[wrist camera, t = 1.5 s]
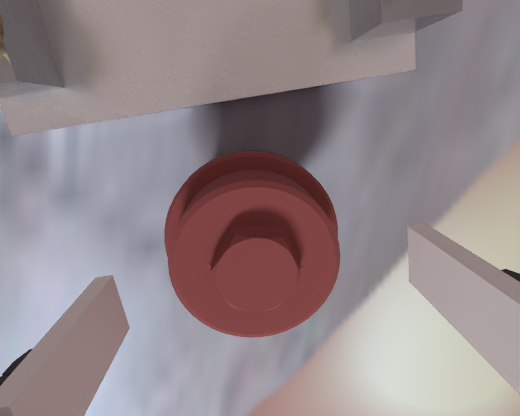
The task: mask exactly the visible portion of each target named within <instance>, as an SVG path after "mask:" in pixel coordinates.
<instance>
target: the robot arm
mask: <svg viewBox="0 0 520 416" xmlns="http://www.w3.org/2000/svg"><path fill="white" fill-rule="evenodd" d="M408 258H409V282H410V283H411V284H412V285H413V286H414V287H415V288H416V289H417V290H418V291H419V292H420V293H421V294H422V295H423V296H424V297H425V298H426V299H427V300H428V301H429V302H430V303H431V304H432V305H433V306H434V307H435V308H436V309H437V310H438V312H439V313H440V314H441V315H442V316H443V317H444V318H445V319H446V320H447V321H448V322H449V323H450V324H451V325H452V326H453V327H454V328H455V329H456V330H457V331H458V332H459V333H460V334H461V335H462V336H463V337H464V338H465V339H466V340H467V341H468V342H469V343H470V344H471V345H472V346H473V347H474V348H475V349H476V350H477V351H478V352H479V353H480V355H481V356H483V357H484V359H485V360H486V361H487V362H488V363H489V364H490V365H491V366H492V367H493V368H494V369H495V370H496V371H497V372H498V373H499V374H500V375H501V376H502V377H503V378H504V379H505V380H506V381H507V382H508V383H509V384H510V385H511V386H512V387H513V388H514V389H515V390H516V391H517V392H518V393H519V394H520V274H519V273H516V272H513V271H510V270H507V269H504V270H499V269H498V268H496V267H495V266H493V265H491V264H490V263H488V262H486V261H485V260H483V259H482V258H480V257H478V256H477V255H475V254H473V253H472V252H470V251H469V250H467V249H465V248H464V247H462V246H461V245H459V244H457V243H456V242H454V241H452V240H451V239H449V238H448V237H446V236H444V235H443V234H441V233H440V232H438V231H436V230H435V229H433V228H431V227H430V226H428V225H427V224H425V223H424V224H418V225H412V226H408ZM128 330H129V325H128V321H127V318H126V315H125V312H124V309H123V306H122V303H121V300H120V297H119V293H118V290H117V287H116V284H115V281H114V278H113V275H110V276H104V277H98V278H95V279H94V280H93V281H92V282H91V283H90V285H89V286H88V287H87V288H86V289H85V290H84V291H83V293H82V294H81V295H80V296H79V297H78V298H77V299H76V300H75V302H74V303H73V304H72V305H71V306H70V307H69V308H68V310H67V311H66V312H65V313H64V314H63V315H62V316H61V318H60V319H59V320H58V321H57V322H56V323H55V324H54V326H53V327H52V328H51V329H50V330H49V331H48V332H47V333H46V335H45V336H44V337H43V338H42V339H41V340H40V341H39V343H38V344H37V345H36V346H35V347H34V348H33V349H30V350H28V351H27V352H26V353H24V354H23V355H22V356H20V357H19V358H18V359H16V360H15V361H14V362H13V363H12V364H11V365H10V366H9V367H8V368H7V370H6V371H5V372H4V373H3V374H2V376H1V377H0V416H84V415H85V413H86V411H87V409H88V407H89V405H90V403H91V401H92V399H93V397H94V395H95V394H96V392H97V390H98V388H99V386H100V384H101V382H102V380H103V378H104V376H105V374H106V372H107V370H108V369H109V367H110V365H111V363H112V361H113V359H114V357H115V355H116V353H117V351H118V349H119V347H120V345H121V343H122V342H123V340H124V338H125V336H126V334H127V332H128Z"/></svg>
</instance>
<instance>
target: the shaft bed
mask: <svg viewBox="0 0 520 416" xmlns="http://www.w3.org/2000/svg"><path fill="white" fill-rule="evenodd" d="M460 11H462V0H0V104H1V107H2V110H3V112H4V115H5V118H6V121H7V123H8V126H9V129H10V131H11V134H12V135H21V134H27V133H34V132H40V131H46V130H52V129H58V128H64V127H71V126H77V125H83V124H89V123H95V122H101V121H107V120H114V119H120V118H126V117H132V116H138V115H144V114H150V113H157V112H163V111H169V110H175V109H181V108H187V107H193V106H200V105H206V104H212V103H218V102H224V101H230V100H237V99H243V98H249V97H255V96H261V95H267V94H273V93H280V92H286V91H292V90H298V89H304V88H310V87H316V86H323V85H329V84H335V83H341V82H347V81H353V80H360V79H366V78H372V77H378V76H384V75H390V74H396V73H403V72H409V71H413V70H416V69H415V31H417V30H420V29H422V28H424V27H426V26H429V25H431V24H433V23H435V22H437V21H440V20H442V19H444V18H446V17H449V16H451V15H453V14H455V13H457V12H460Z"/></svg>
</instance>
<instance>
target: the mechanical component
mask: <svg viewBox="0 0 520 416" xmlns="http://www.w3.org/2000/svg"><path fill="white" fill-rule="evenodd" d="M165 247H166V253H167V256H168V266H169V275H170V278H171V282H172V286H173V288H174V290H175V292H176V294H177V296H178V298H179V299H180V301H181V302H182V304H183V305H184V307H185V308H186V309H187V310H188V311H189V312H190V313H191V314H192V315H193V316H194V317H195V318H197V319H198V320H199V321H201V322H202V323H204V324H205V325H207V326H209V327H211V328H212V329H215V330H217V331H220V332H223V333H225V334H230V335H234V336H240V337H264V336H269V335H275V334H278V333H281V332H284V331H287V330H289V329H291V328H293V327H295V326H297V325H299V324H301V323H302V322H304V321H305V320H307V319H308V318H309V317H310V316H312V315H313V314H314V313H315V312H316V311H317V310H318V309H319V308H320V307H321V305H322V304H323V303H324V302H325V301H326V299H327V297H328V296H329V294H330V293H331V291H332V289H333V286H334V284H335V282H336V279H337V275H338V271H339V264H340V250H339V242H338V226H337V219H336V214H335V211H334V208H333V205H332V202H331V200H330V198H329V196H328V194H327V193H326V191H325V190H324V188H323V187H322V186H321V184H320V183H319V182H318V181H317V180H316V179H315V178H314V177H313V176H312V175H311V174H310V173H309V172H308V171H307V170H305V169H304V168H303V167H301V166H300V165H298V164H297V163H295V162H294V161H292V160H290V159H288V158H286V157H283V156H281V155H277V154H274V153H271V152H264V151H239V152H233V153H229V154H226V155H223V156H220V157H218V158H216V159H213V160H211V161H209V162H208V163H206V164H205V165H203V166H202V167H200V168H199V169H198V170H197V171H195V172H194V173H193V174H192V175H191V176H190V177H189V178H188V179H187V181H186V182H185V183H184V184H183V185H182V187H181V188H180V190H179V191H178V193H177V194H176V196H175V198H174V200H173V202H172V204H171V206H170V208H169V211H168V215H167V218H166V224H165Z"/></svg>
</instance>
